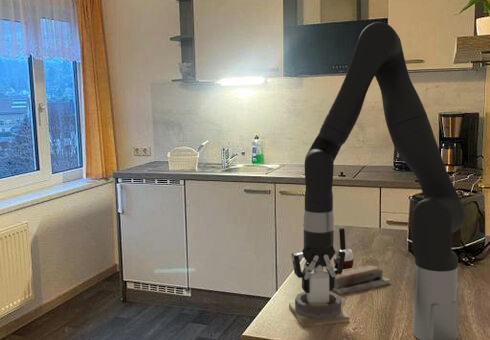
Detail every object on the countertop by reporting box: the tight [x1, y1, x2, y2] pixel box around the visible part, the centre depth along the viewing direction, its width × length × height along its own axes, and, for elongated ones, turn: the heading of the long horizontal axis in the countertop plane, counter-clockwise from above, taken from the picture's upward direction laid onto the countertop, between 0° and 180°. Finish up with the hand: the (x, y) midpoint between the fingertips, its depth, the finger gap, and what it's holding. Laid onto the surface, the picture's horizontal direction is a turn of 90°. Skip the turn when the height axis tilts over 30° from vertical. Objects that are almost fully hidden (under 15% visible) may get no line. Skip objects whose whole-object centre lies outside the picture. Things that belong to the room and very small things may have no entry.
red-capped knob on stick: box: [333, 227, 355, 270], centre depth 171 cm, size 10×6×12 cm, turn 156°
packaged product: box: [332, 264, 391, 295], centre depth 158 cm, size 18×5×10 cm
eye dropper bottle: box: [307, 265, 330, 304], centre depth 137 cm, size 4×6×12 cm
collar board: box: [288, 291, 350, 328], centre depth 137 cm, size 12×12×4 cm
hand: (318, 290), depth 137 cm, fingers closed on eye dropper bottle, 5 cm apart
